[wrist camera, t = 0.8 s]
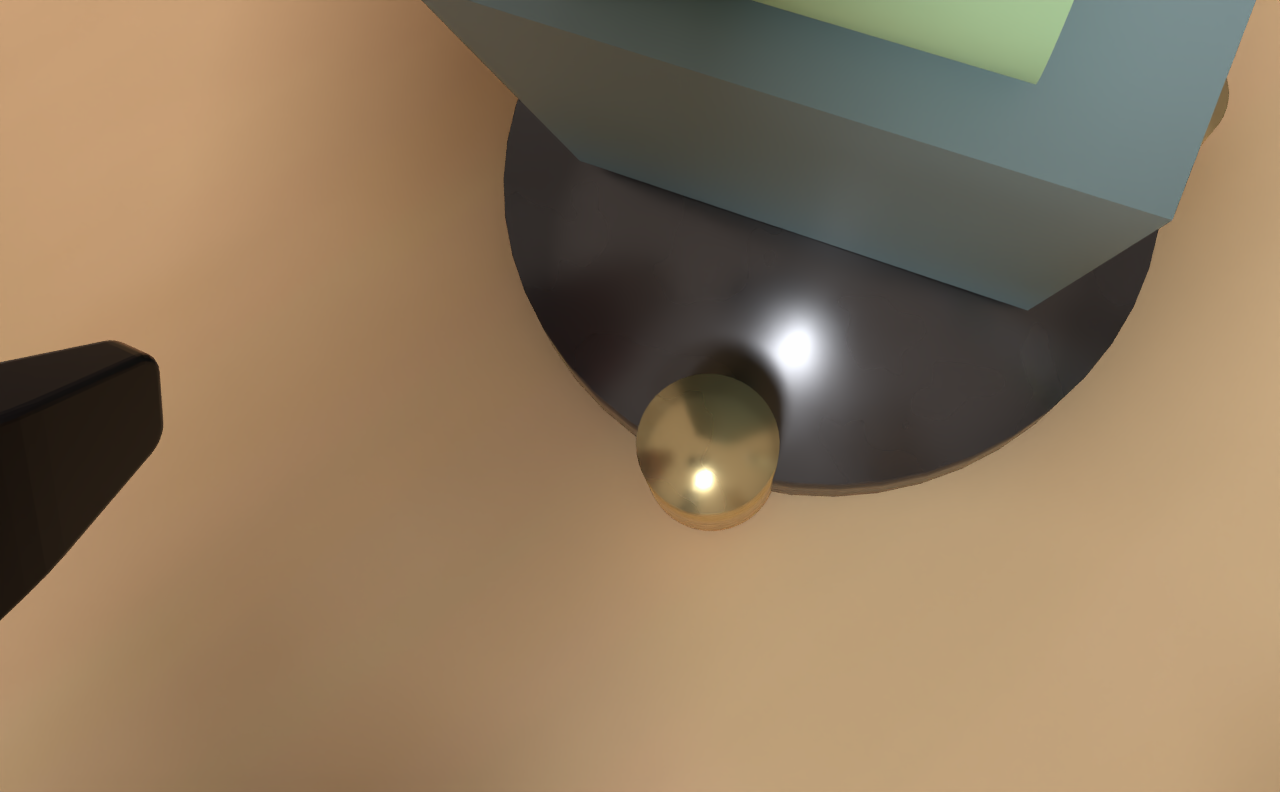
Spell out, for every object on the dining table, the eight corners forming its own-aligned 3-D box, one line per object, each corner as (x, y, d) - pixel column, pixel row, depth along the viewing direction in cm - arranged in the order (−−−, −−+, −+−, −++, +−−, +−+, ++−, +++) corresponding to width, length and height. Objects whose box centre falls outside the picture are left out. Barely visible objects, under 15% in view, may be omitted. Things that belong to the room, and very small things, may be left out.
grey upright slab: (1027, 310, 22) (1232, 182, 11) (579, 161, 24) (331, -92, 12) (1124, 54, 22) (1441, -366, 10) (665, -79, 24) (496, -565, 12)
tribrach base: (1023, 657, 22) (1055, 654, 20) (386, 408, 25) (350, 379, 23) (1224, 28, 25) (1272, -38, 23) (639, -135, 28) (630, -209, 26)
